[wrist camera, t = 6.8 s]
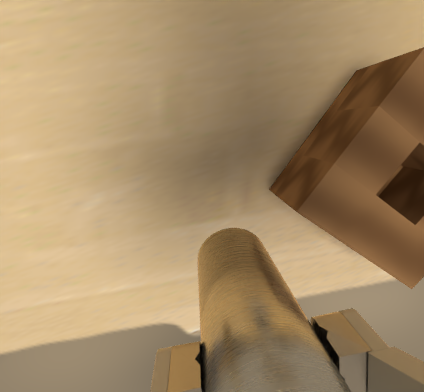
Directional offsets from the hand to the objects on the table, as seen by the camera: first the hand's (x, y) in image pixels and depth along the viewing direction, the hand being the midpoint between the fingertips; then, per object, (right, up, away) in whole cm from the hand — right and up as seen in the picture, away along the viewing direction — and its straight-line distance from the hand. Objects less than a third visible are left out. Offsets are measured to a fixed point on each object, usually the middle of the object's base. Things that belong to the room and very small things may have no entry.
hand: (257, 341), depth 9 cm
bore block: (+16, +8, +21) cm, 28 cm away
